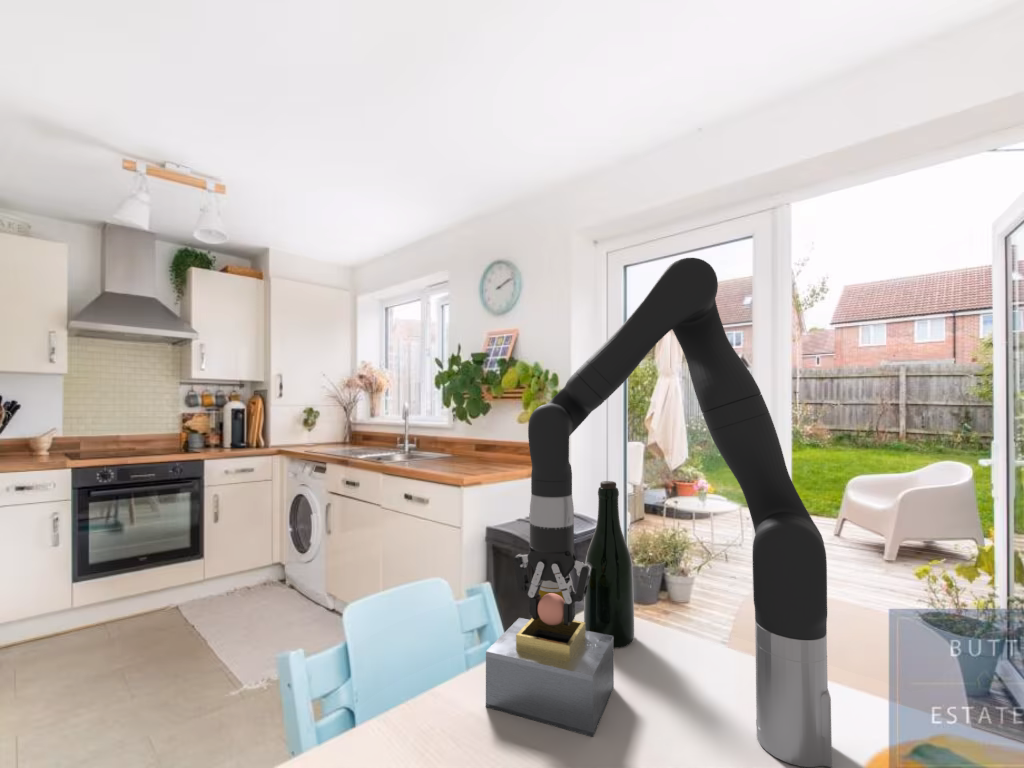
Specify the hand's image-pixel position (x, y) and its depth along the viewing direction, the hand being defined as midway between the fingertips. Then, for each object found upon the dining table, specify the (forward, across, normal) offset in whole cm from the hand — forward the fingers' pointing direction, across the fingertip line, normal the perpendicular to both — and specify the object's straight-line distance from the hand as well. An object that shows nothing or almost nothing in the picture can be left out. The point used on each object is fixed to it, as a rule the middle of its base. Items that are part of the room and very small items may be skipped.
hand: (551, 620), depth 86 cm
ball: (-2, 0, 0) cm, 2 cm away
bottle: (+13, +6, -17) cm, 22 cm away
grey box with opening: (+13, 0, 0) cm, 13 cm away
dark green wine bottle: (+13, -4, -25) cm, 29 cm away
